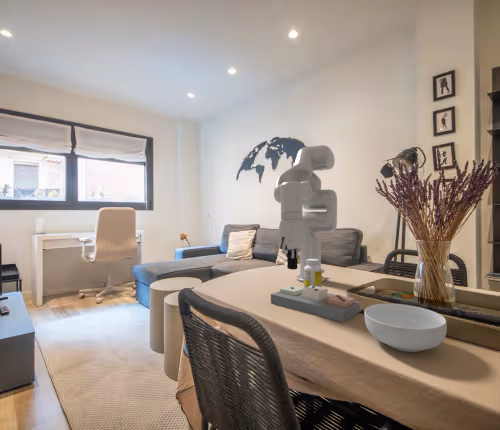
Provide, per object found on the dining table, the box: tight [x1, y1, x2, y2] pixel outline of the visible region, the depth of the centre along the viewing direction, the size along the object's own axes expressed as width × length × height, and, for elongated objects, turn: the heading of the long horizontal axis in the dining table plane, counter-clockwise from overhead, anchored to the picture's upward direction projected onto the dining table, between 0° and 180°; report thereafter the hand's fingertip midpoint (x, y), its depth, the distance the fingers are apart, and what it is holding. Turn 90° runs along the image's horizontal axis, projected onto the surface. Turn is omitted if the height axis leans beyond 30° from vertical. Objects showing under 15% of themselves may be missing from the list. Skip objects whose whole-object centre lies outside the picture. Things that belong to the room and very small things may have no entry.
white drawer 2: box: [302, 286, 329, 302], centre depth 92 cm, size 6×6×4 cm
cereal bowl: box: [364, 303, 448, 353], centre depth 65 cm, size 17×17×7 cm
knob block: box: [279, 285, 304, 296], centre depth 98 cm, size 6×6×4 cm
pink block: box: [327, 294, 355, 308], centre depth 86 cm, size 6×6×4 cm
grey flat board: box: [270, 290, 361, 323], centre depth 92 cm, size 14×26×3 cm, turn 47°
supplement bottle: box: [303, 259, 323, 288], centre depth 109 cm, size 7×7×13 cm
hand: (292, 268), depth 99 cm, fingers closed
